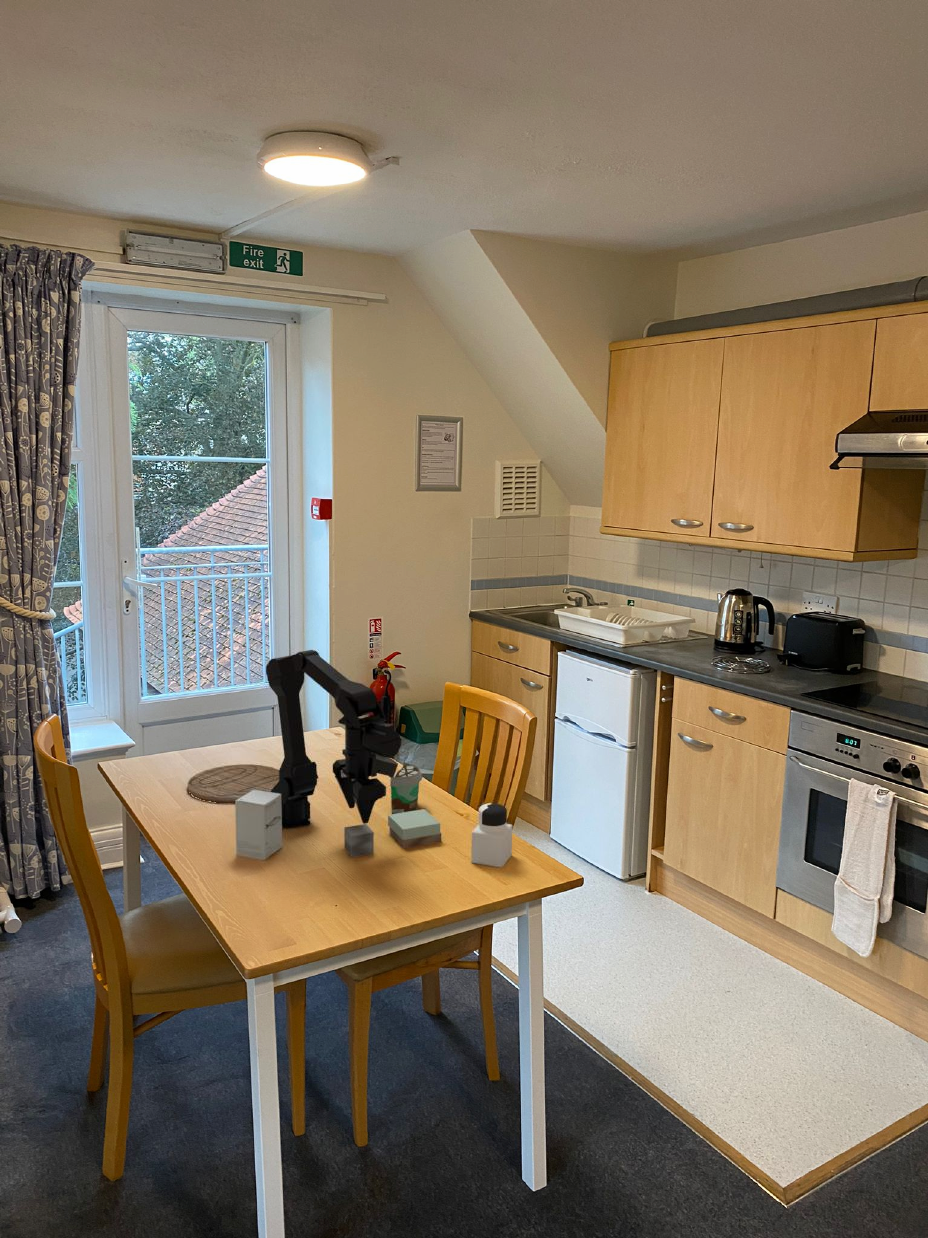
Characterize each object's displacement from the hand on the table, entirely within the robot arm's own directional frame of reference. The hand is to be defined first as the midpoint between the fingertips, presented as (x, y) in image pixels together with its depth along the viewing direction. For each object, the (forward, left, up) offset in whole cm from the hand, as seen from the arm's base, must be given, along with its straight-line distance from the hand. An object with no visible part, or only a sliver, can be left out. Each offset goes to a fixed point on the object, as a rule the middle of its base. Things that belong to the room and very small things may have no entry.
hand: (358, 815), depth 203 cm
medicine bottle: (+25, -15, -8) cm, 30 cm away
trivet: (-16, +50, -9) cm, 53 cm away
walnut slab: (+14, +2, -9) cm, 17 cm away
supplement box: (-20, +8, -8) cm, 23 cm away
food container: (+19, +18, -8) cm, 27 cm away
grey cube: (0, 0, -8) cm, 8 cm away
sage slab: (+14, +2, -6) cm, 15 cm away
